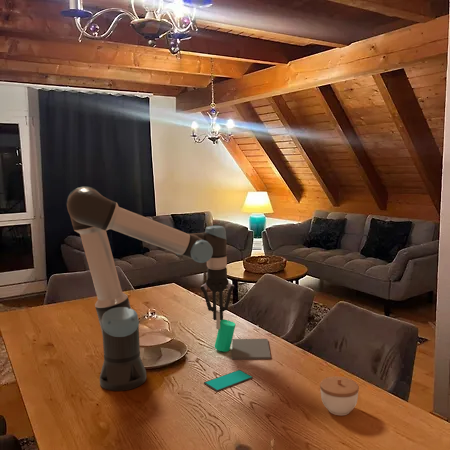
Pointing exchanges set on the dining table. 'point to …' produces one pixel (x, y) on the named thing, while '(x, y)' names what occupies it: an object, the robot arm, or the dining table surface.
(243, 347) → the mat
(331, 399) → the lidded jar
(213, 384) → the smartphone
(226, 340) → the candle
